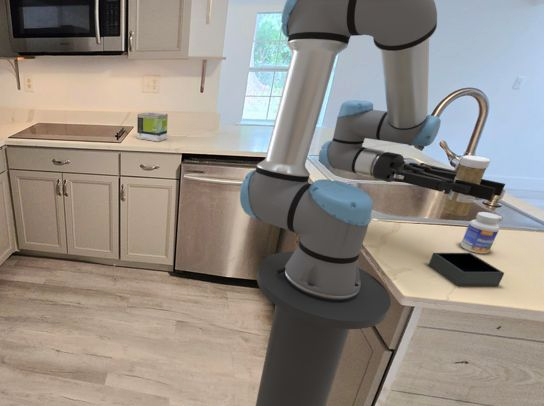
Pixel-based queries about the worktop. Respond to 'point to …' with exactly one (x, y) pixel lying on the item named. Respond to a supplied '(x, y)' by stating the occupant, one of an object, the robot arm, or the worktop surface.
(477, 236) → the pill bottle
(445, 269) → the dark gray tray
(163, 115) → the tea box
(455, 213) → the sprinkles bottle
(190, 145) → the worktop surface
